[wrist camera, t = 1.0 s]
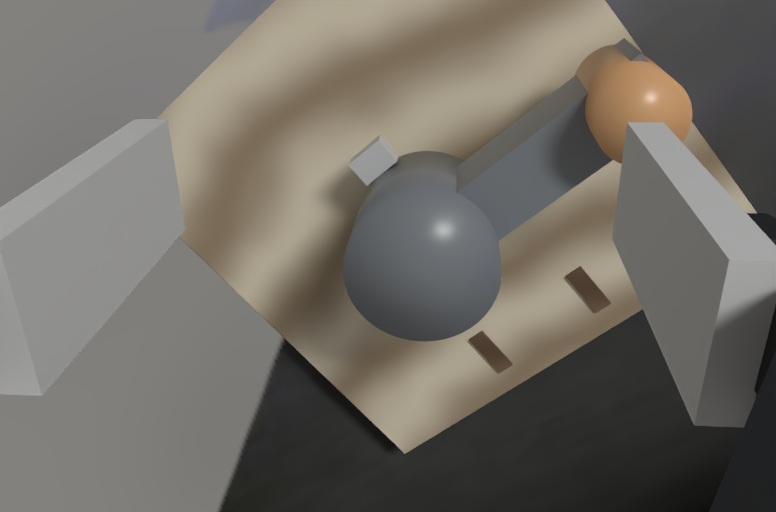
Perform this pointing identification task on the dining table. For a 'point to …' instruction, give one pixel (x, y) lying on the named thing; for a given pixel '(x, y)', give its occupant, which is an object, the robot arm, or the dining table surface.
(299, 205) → the base board
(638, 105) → the uneven dumbbell rattle
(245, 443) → the dining table surface
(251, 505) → the dining table surface
